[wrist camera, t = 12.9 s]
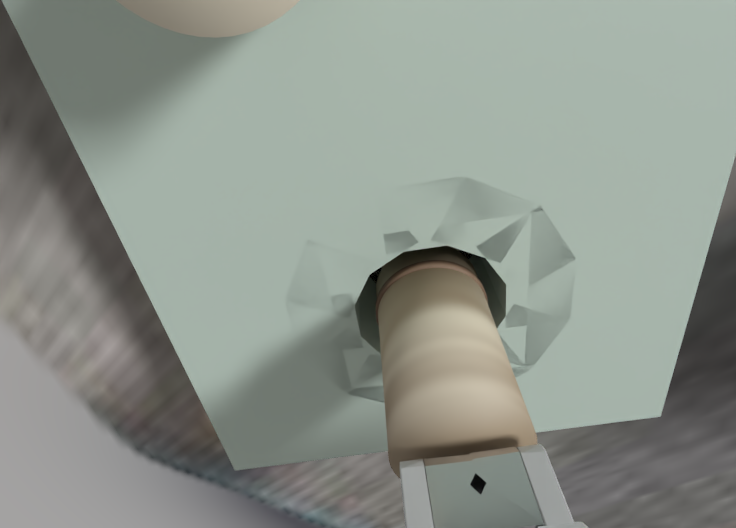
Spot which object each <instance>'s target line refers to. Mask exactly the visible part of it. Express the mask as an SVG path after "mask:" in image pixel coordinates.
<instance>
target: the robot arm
mask: <svg viewBox="0 0 736 528" xmlns="http://www.w3.org/2000/svg"><path fill="white" fill-rule="evenodd" d="M424 466H425V467H424ZM400 479H401V488H402V498H403V507H404V517H405V526H406V528H588V527H587V526H586V525H585V524H584V523H583V522H574V521H573V518H572V515H571V513H570V510H569V508H568V505H567V503H566V500H565V498H564V495H563V493H562V490H561V488H560V485H559V483H558V480H557V478H556V475H555V473H554V470H553V468H552V465H551V463H550V460H549V457H548V455H547V452H546V450H545V448H544V447H543V446H542V445H541V444H534V445H527V446H520V447H508V448H501V449H494V450H487V451H480V452H473V453H469V454H461V455H453V456H445V457H436V458H428V459H424V461H423V459H417V460H409V461H402V462H400Z"/></svg>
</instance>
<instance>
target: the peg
mask: <svg viewBox="0 0 736 528" xmlns="http://www.w3.org/2000/svg"><path fill="white" fill-rule="evenodd" d="M376 296H377V299H376V308H375V309H376V320H377V324H378V327H379V336H380V349H381V362H382V376H383V389H384V402H385V416H386V429H387V442H388V456H389V462H390V465H391V468H392V469H393V471H394V473H395V474H396V475H397V476H398V477H399V478H400V462H402V461H409V460H417V459H423V461H424V459H428V458H436V457H445V456H453V455H461V454H469V453H473V452H480V451H487V450H494V449H501V448H508V447H520V446H527V445H534V444H537V435H536V432H535V429H534V426H533V424H532V421H531V418H530V416H529V413H528V410H527V408H526V405H525V402H524V400H523V397H522V394H521V392H520V389H519V386H518V384H517V381H516V378H515V376H514V373H513V370H512V368H511V365H510V362H509V360H508V357H507V354H506V352H505V349H504V346H503V343H502V341H501V338H500V335H499V333H498V330H497V327H496V325H495V322H494V319H493V317H492V314H491V311H490V309H489V306H488V298H487V295H486V292H485V289H484V287H483V285H482V283H481V281H480V280H479V278H478V277H477V274H476V271H475V269H474V267H473V265H472V263H471V262H470V261H469V259H468V258H467V257H466V256H465V255H463V254H462V253H461V252H460V250H459V249H456V248H453V247H450V246H440V247H433V248H426V249H419V250H412V251H406V252H403V253H401V254H400V255H398V256H397V257H395V258H394V259H392V260H391V261H389V262H388V263H386V264H385V265H383V266H382V270H381V272H380V273H379V276H378V279H377V283H376ZM424 467H425V466H424Z"/></svg>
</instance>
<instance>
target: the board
mask: <svg viewBox="0 0 736 528" xmlns="http://www.w3.org/2000/svg"><path fill="white" fill-rule="evenodd" d="M2 2H3V4H4V6H5V8H6V10H7V12H8V14H9V16H10V18H11V20H12V22H13V24H14V26H15V28H16V30H17V32H18V34H19V36H20V38H21V40H22V42H23V44H24V46H25V48H26V50H27V52H28V54H29V56H30V58H31V60H32V62H33V64H34V66H35V68H36V70H37V72H38V75H39V77H40V79H41V81H42V83H43V85H44V87H45V89H46V91H47V93H48V95H49V97H50V99H51V101H52V103H53V105H54V107H55V109H56V111H57V113H58V115H59V117H60V119H61V121H62V123H63V125H64V127H65V129H66V131H67V133H68V135H69V137H70V139H71V141H72V143H73V145H74V147H75V149H76V151H77V153H78V155H79V157H80V159H81V161H82V163H83V165H84V167H85V169H86V171H87V173H88V175H89V177H90V179H91V181H92V183H93V185H94V187H95V189H96V191H97V193H98V195H99V197H100V199H101V202H102V204H103V206H104V208H105V210H106V212H107V214H108V216H109V218H110V220H111V222H112V224H113V226H114V228H115V230H116V232H117V234H118V236H119V238H120V240H121V242H122V244H123V246H124V248H125V250H126V252H127V254H128V256H129V258H130V260H131V262H132V264H133V266H134V268H135V270H136V272H137V274H138V276H139V278H140V280H141V282H142V284H143V286H144V288H145V290H146V292H147V294H148V296H149V298H150V300H151V302H152V304H153V306H154V308H155V310H156V312H157V314H158V316H159V318H160V320H161V322H162V324H163V327H164V329H165V331H166V333H167V335H168V337H169V339H170V341H171V343H172V345H173V347H174V349H175V351H176V353H177V355H178V357H179V359H180V361H181V363H182V365H183V367H184V369H185V371H186V373H187V375H188V377H189V379H190V381H191V383H192V385H193V387H194V389H195V391H196V393H197V395H198V397H199V399H200V401H201V403H202V405H203V407H204V409H205V411H206V413H207V415H208V417H209V419H210V421H211V423H212V425H213V427H214V429H215V431H216V433H217V435H218V437H219V439H220V441H221V443H222V445H223V447H224V449H225V451H226V454H227V456H228V458H229V460H230V462H231V464H232V466H233V468H234V470H243V469H251V468H259V467H267V466H275V465H283V464H290V463H298V462H306V461H314V460H322V459H330V458H338V457H346V456H354V455H361V454H369V453H377V452H385V451H388V442H387V429H386V416H385V402H384V389H383V376H382V362H381V349H380V336H379V327H378V324H377V320H376V309H375V308H376V299H377V296H376V283H375V282H374V281H373V280H372V279H371V278H370V277H369V275H370V274H371V273H373V272H374V271H376V270H377V269H379V268H380V267H382V266H383V265H385V264H386V263H388V262H389V261H391V260H392V259H394V258H395V257H397V256H398V255H400V254H401V253H403V252H406V251H412V250H419V249H426V248H433V247H440V246H450V247H453V248H456V249H459V250H462V251H465V252H468V253H471V254H472V255H471V257H470V259H469V261H470V262H471V263H472V265H473V267H474V269H475V271H476V274H477V277H478V278H479V280H480V281H481V283H482V285H483V287H484V289H485V292H486V295H487V298H488V306H489V309H490V311H491V314H492V317H493V319H494V322H495V325H496V327H497V330H498V333H499V335H500V338H501V341H502V343H503V346H504V349H505V352H506V354H507V357H508V360H509V362H510V365H511V368H512V370H513V373H514V376H515V378H516V381H517V384H518V386H519V389H520V392H521V394H522V397H523V400H524V402H525V405H526V408H527V410H528V413H529V416H530V418H531V421H532V424H533V426H534V429H535V432H543V431H551V430H559V429H567V428H575V427H582V426H590V425H598V424H606V423H614V422H622V421H630V420H638V419H646V418H653V417H661V413H662V410H663V406H664V403H665V399H666V396H667V392H668V389H669V385H670V382H671V378H672V375H673V371H674V368H675V364H676V361H677V357H678V354H679V350H680V347H681V343H682V340H683V336H684V333H685V329H686V326H687V322H688V319H689V315H690V312H691V308H692V305H693V301H694V298H695V294H696V291H697V287H698V284H699V280H700V277H701V273H702V270H703V267H704V263H705V260H706V256H707V253H708V249H709V246H710V242H711V239H712V235H713V232H714V228H715V225H716V221H717V218H718V214H719V211H720V207H721V204H722V200H723V197H724V193H725V190H726V186H727V183H728V179H729V176H730V172H731V169H732V165H733V162H734V158H735V155H736V0H2Z"/></svg>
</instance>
